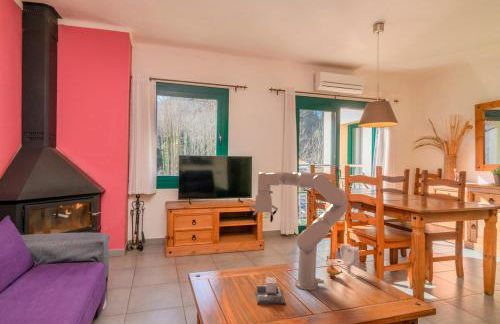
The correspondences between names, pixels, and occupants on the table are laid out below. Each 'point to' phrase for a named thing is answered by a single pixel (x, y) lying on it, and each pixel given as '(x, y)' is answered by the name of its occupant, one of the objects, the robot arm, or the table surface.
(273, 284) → the block
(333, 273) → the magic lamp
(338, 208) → the robot arm
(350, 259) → the heart sculpture
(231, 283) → the table surface
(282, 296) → the grey square tray
